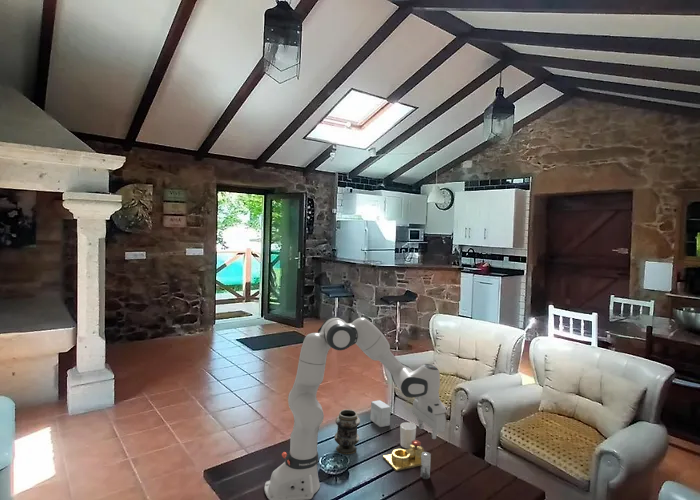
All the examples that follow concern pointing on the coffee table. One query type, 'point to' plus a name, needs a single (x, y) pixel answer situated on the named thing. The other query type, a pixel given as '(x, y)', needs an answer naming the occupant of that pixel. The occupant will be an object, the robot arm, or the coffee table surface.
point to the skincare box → (380, 413)
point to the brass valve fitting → (405, 457)
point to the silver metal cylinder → (425, 465)
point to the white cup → (407, 434)
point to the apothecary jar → (347, 431)
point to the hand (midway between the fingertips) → (427, 433)
